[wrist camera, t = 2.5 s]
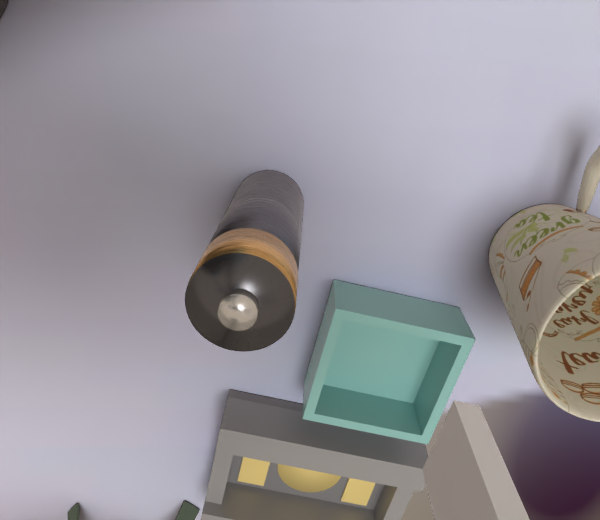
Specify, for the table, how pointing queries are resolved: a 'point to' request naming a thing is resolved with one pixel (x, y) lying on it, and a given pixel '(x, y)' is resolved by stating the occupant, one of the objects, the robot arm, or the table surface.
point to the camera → (184, 516)
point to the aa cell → (250, 266)
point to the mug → (556, 294)
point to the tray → (385, 362)
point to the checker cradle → (306, 467)
